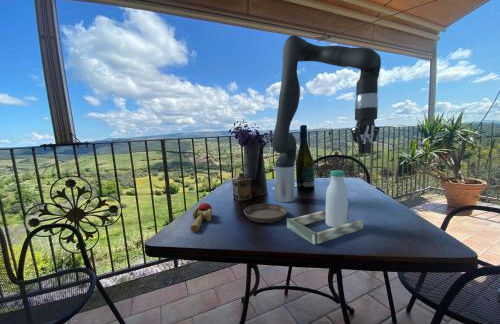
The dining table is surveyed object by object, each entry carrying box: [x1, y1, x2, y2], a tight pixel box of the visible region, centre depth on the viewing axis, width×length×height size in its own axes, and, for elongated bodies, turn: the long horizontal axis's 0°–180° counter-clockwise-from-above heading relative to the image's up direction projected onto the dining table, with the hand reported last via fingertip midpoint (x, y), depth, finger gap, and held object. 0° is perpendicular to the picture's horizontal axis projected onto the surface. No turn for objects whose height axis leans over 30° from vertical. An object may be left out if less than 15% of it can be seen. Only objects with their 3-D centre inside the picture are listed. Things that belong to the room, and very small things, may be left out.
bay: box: [286, 209, 364, 246], centre depth 80 cm, size 22×14×4 cm, turn 117°
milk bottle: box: [325, 169, 349, 228], centre depth 82 cm, size 8×8×20 cm
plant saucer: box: [243, 203, 288, 224], centre depth 94 cm, size 18×18×3 cm
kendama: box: [190, 202, 213, 233], centre depth 90 cm, size 8×6×18 cm
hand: (364, 153), depth 87 cm, fingers open, 2 cm apart
